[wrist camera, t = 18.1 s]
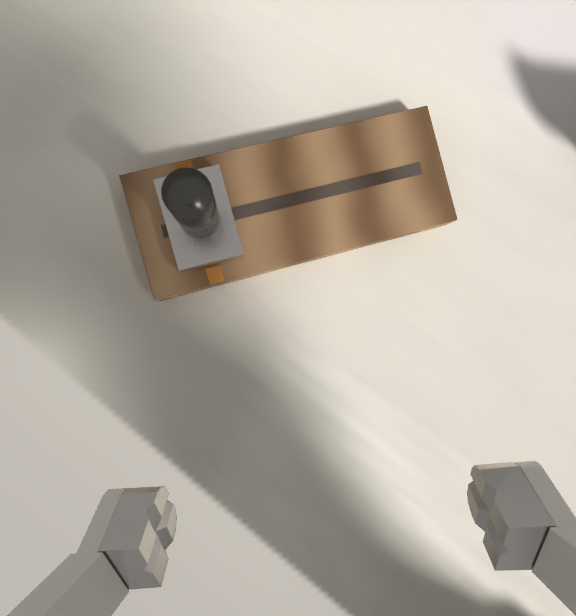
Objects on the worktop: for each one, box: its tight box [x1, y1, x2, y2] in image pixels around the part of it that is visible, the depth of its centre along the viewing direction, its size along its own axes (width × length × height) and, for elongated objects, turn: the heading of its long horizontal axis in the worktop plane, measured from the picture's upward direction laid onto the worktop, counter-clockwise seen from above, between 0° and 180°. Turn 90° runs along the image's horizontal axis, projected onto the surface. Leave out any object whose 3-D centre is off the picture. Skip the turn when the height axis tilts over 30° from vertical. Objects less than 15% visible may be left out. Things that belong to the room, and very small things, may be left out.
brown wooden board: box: [119, 106, 457, 301], centre depth 32 cm, size 26×10×2 cm, turn 106°
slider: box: [153, 164, 244, 272], centre depth 26 cm, size 5×7×7 cm
